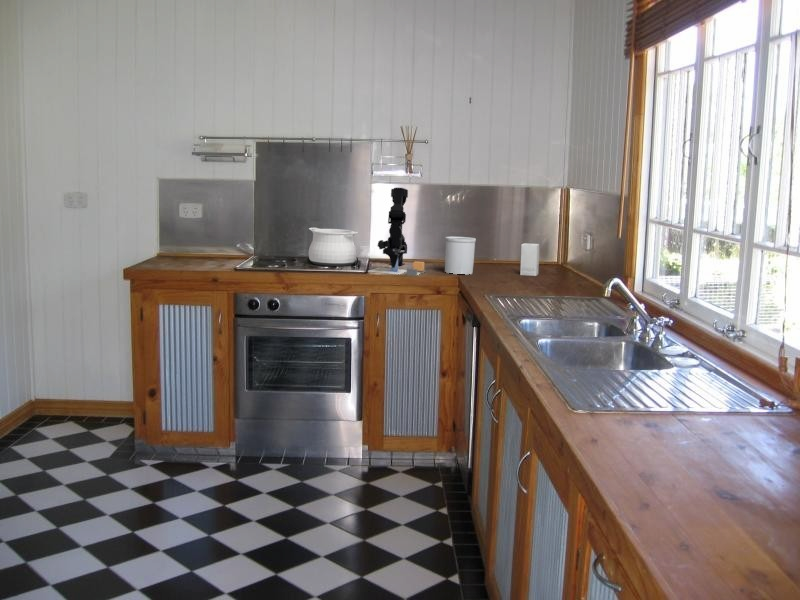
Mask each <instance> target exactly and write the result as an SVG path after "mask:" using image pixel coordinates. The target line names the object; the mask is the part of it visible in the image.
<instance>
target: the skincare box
mask: <svg viewBox="0 0 800 600" xmlns="http://www.w3.org/2000/svg"><path fill="white" fill-rule="evenodd" d="M520 249H521V250H520V271H519V272H520V274H519V275H520V276H528V277H529V276H530V277H536V276H538V275H539V268H540V267H539V265H540V243H529V242H528V243H522V244H521V245H520Z"/></svg>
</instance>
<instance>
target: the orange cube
mask: <svg viewBox="0 0 800 600" xmlns="http://www.w3.org/2000/svg"><path fill="white" fill-rule="evenodd" d="M412 264H413V265H412V269H417V271H423V270H425V261H418V260H417V261H416V260H415V261H413V263H412Z"/></svg>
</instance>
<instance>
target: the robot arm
mask: <svg viewBox="0 0 800 600" xmlns="http://www.w3.org/2000/svg"><path fill="white" fill-rule="evenodd" d="M408 196H409V190H408V189H406V188H405V187H394V188H391V189H390V197H391V198H392V200H391V201H392V204H393V205H392V206H390V211H389V210H388V219H387V220H388V221H387V224H390V226H389V230H388V232H389V236H388V238H387V240H385V241H384V240H383V239H381V240H379V241H378V243H377V245H376V246H377V247H378V249H379V250H382V254H384V255H386V256H388V257H389V260H390V263H389V266H391V265H392V268H395V265H396V263H397V260H398V267H400V266H404V265H406V263H403V261H404V255H405V254H408V244H407V241H405V240H406V239H405V238H406V237H405V236H404V234H403V225H405V223H406V220H407V219H406V218H407V214H406V212H405V211H404V210H405V209H404V208H405V207H404V205H405V204H406V202H407V198H409V197H408Z"/></svg>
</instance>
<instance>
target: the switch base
mask: <svg viewBox="0 0 800 600" xmlns="http://www.w3.org/2000/svg"><path fill="white" fill-rule="evenodd" d="M406 270H407V272H406V276H414V277H417V275H418V276H419V274H420V275H422V274H421V273H423V274H425V273H424V272H426V273H427V271H426V270H425V269H424V270H423V271H417V269H413V268H406Z"/></svg>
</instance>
